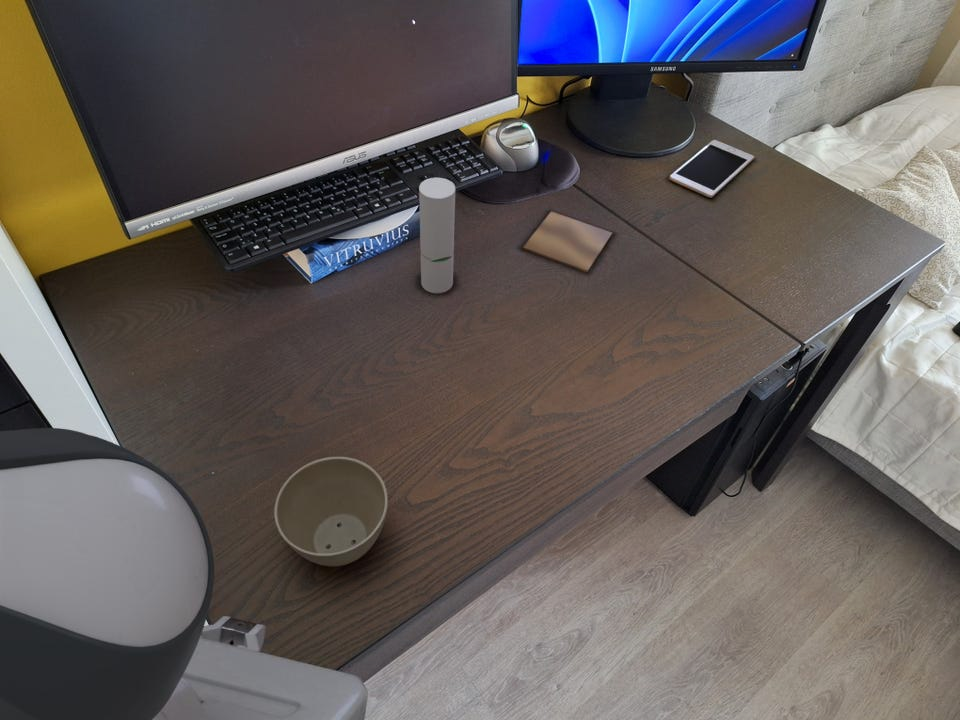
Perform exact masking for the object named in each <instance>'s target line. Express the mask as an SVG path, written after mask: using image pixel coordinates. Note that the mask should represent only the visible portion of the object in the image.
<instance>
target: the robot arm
mask: <svg viewBox="0 0 960 720" xmlns="http://www.w3.org/2000/svg"><path fill="white" fill-rule="evenodd" d="M214 582H215V559H214V553H213V547H212V543H211V540H210V535H209V532H208V530H207V527H206V524H205V523H204V520H203V518H202V516H201V514H200V512H199V510H198V508H197V507H196V504H195V503H194V502H193V501H192V499H191V497H190V496H189V495H188V494H187V492H186V491H185V490H184V489H183V488H182V486H181V485H179V483H177V481H176V480H174V479H173V477H171V476H170V475H168V473H166V472H165V471H163V470H162V469H161V468H160V467H158V466H157V465H156V464H154V463H152V462H150V461H149V460H148V459H146V458H144V457H143V456H141V455H139V454H137V453H135V452H133V451H132V450H130V449H127V448H125V447H123V446H121V445H119V444H117V443H114V442H112V441H109V440H106V439H104V438H100V437H99V436H95V435H91V434H87V433H85V432H81V431H78V430H74V429H67V428H61V427H59V428H58V427H39V428H26V429H25V428H24V429H14V430H13V429H11V430H2V431H1V430H0V720H365V718H366V713H367V707H368V699H369V691H368V689H367V687H366V684H365V683H364V681H363V680H362V678H361V677H359V676H357V675H356V674H352V673H347V672H343V671H339V670H335V669H331V668H328V667H322V666H318V665H316V664H315V665H314V664H310V663H307V662H302V661H298V660H293V659H291V658H287V657H282V656H277V655H273V654H269V653H266V652H262V651H261V650H262V648H263V646H264V642H265V635H266V630H267V629H266V628H267V626H266V625H265V624H261V623H257V622H252V621H247V620H243V619H239V618H235V617H232V616H227V615H223V616H221V617H220V618H219V619H218V620H217V621H216V622H214V624H208V625H207V624H206V621H207V619H208V614H209V610H210V606H211V603H212V595H213V591H214ZM205 624H206V625H205Z"/></svg>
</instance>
